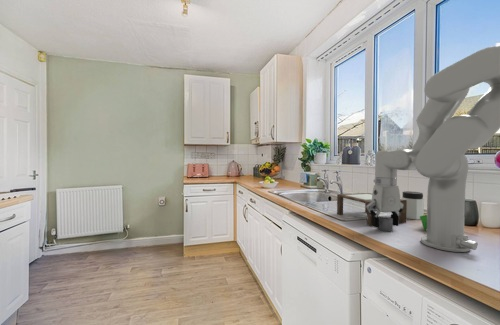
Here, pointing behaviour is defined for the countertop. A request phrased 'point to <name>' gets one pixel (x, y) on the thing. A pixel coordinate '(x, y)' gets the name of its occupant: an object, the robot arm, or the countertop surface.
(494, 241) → the countertop surface
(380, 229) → the metal canister
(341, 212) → the trapdoor frame
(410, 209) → the jar
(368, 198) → the trapdoor
